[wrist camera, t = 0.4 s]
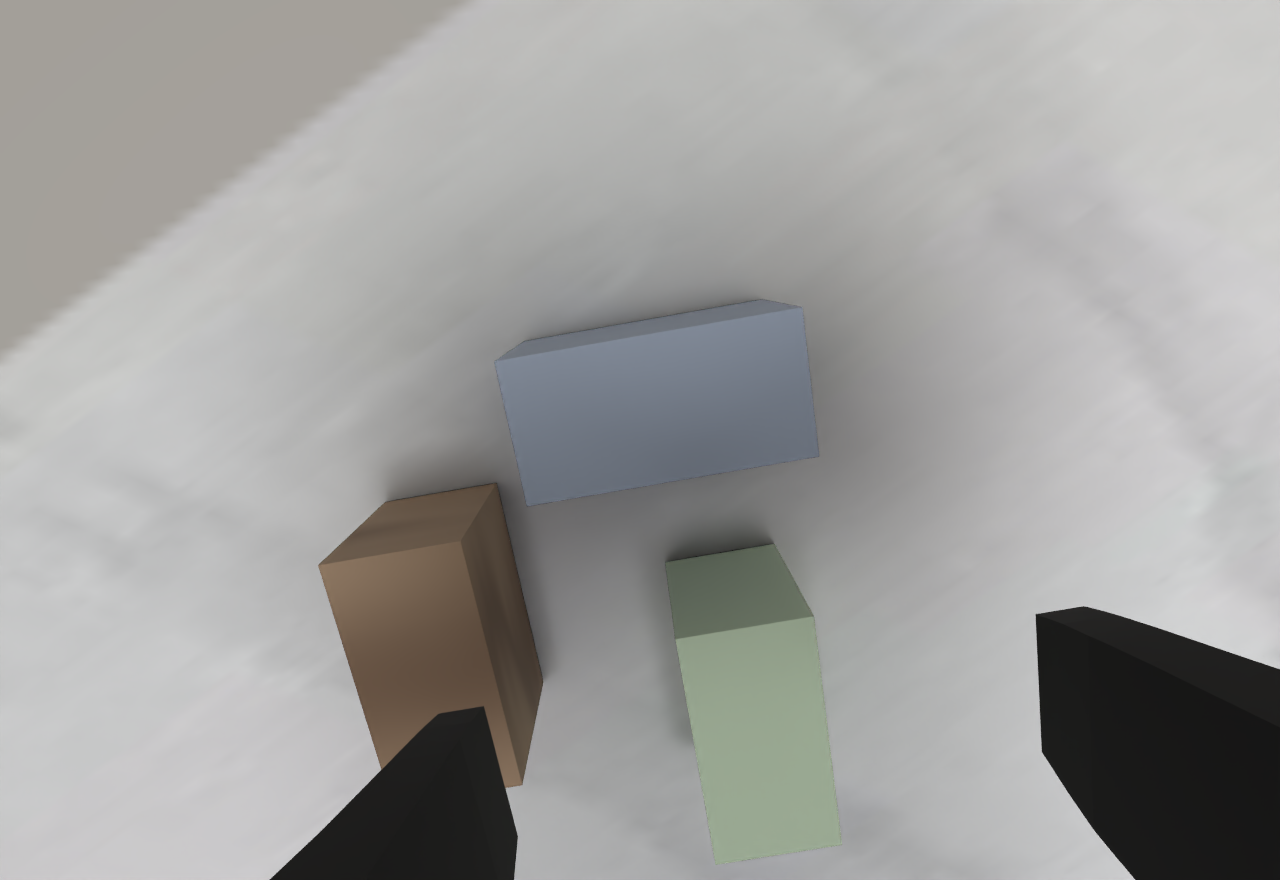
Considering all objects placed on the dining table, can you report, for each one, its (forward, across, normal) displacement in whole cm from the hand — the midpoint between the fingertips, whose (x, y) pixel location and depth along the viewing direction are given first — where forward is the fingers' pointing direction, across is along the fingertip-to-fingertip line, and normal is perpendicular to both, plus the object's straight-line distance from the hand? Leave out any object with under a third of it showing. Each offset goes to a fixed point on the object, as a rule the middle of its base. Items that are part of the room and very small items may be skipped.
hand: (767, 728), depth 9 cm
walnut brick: (+10, +7, +2) cm, 12 cm away
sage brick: (+10, 0, +5) cm, 11 cm away
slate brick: (+10, +1, -3) cm, 10 cm away
